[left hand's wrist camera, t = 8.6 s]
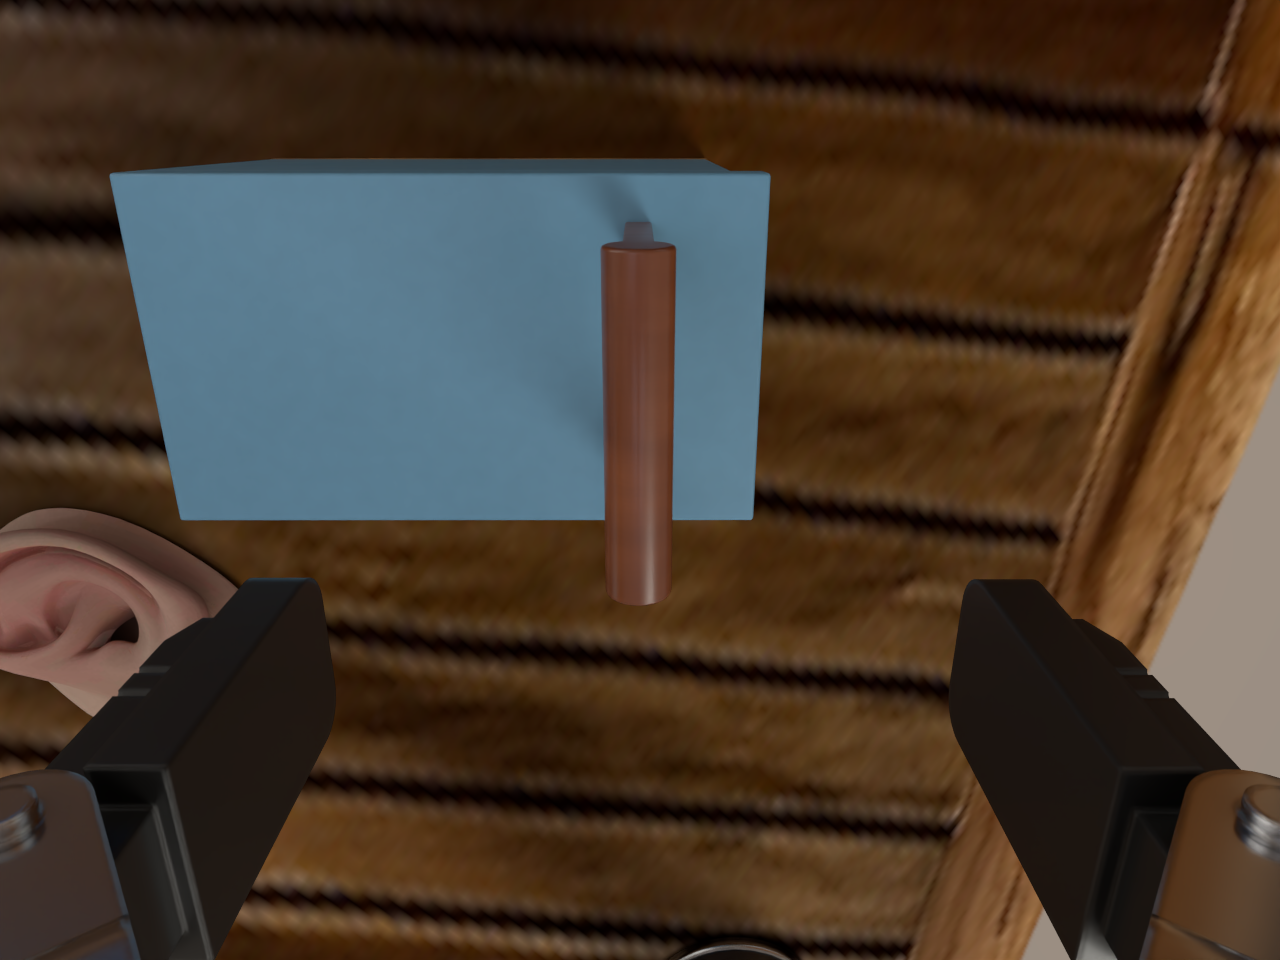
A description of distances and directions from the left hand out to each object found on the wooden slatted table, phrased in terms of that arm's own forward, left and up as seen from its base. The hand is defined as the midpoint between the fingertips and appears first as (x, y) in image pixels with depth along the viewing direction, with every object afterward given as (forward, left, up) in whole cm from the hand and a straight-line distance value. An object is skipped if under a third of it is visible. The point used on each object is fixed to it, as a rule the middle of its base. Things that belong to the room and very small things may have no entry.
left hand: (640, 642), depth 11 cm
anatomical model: (-20, +20, -26) cm, 39 cm away
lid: (-1, +5, -16) cm, 17 cm away
